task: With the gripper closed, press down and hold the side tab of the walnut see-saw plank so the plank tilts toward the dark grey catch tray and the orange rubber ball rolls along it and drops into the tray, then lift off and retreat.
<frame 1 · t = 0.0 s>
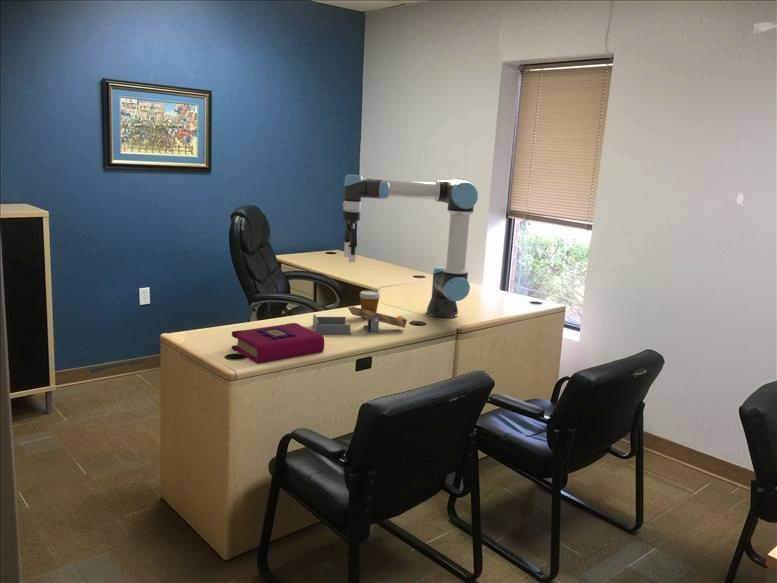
hand: (349, 259, 285), 28 cm above the table, tool pointing down, fingers open, 13 cm apart
lever: (377, 314, 281), point 6 cm above the table, hinge at -14.1°, touching ball
book: (277, 352, 242), on the table
disposable coffee cup: (368, 318, 298), on the table
fulcrum: (372, 329, 278), on the table
catch tray: (331, 329, 274), on the table
ball: (399, 319, 280), point 5 cm above the table, tilted 10°, touching lever
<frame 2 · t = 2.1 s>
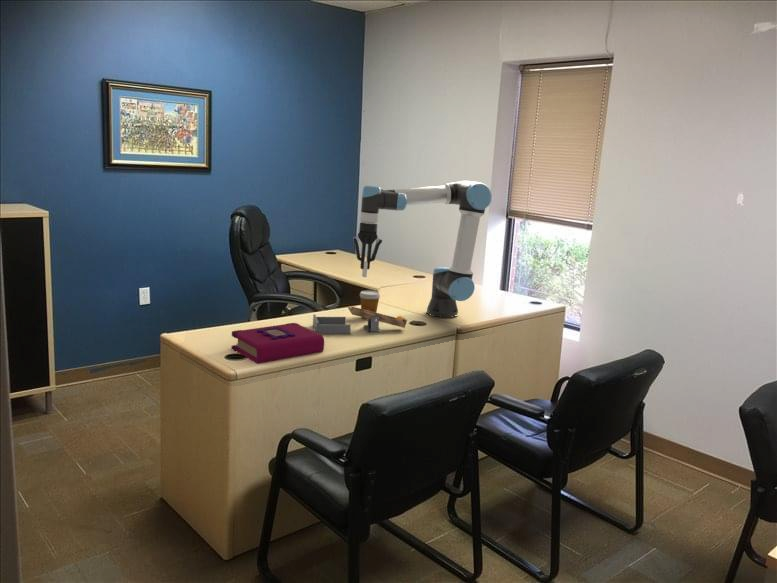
hand: (364, 276, 282), 22 cm above the table, tool pointing down, fingers closed
nothing on the table moved.
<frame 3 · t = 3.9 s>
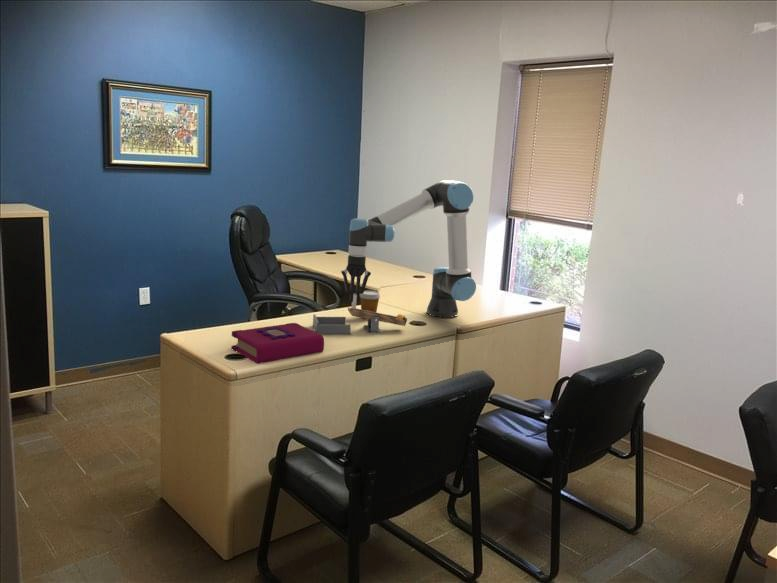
hand: (353, 308, 280), 8 cm above the table, tool pointing down, fingers closed
lever: (377, 314, 281), point 6 cm above the table, hinge at -10.7°, touching ball, gripper
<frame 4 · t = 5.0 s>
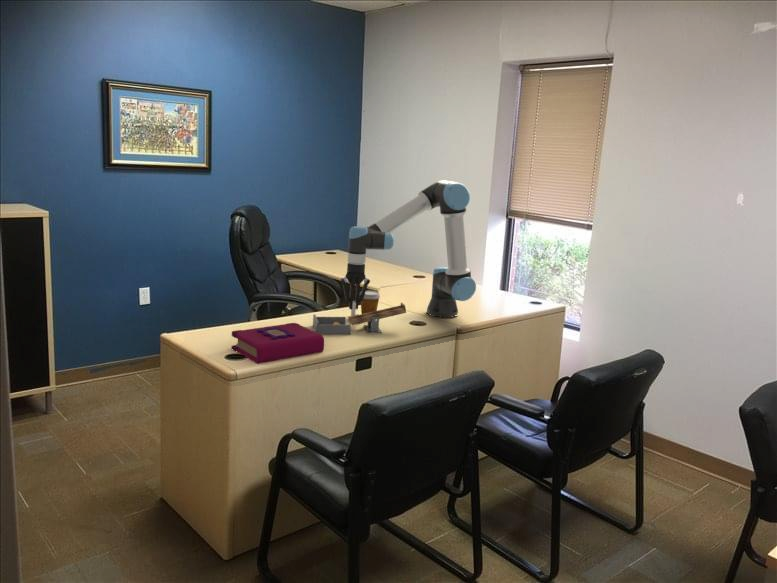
hand: (353, 316, 281), 5 cm above the table, tool pointing down, fingers closed
lever: (376, 312, 280), point 7 cm above the table, hinge at 13.6°, touching gripper
ball: (336, 325, 274), point 2 cm above the table, tilted 78°, touching catch tray
everything else where it was.
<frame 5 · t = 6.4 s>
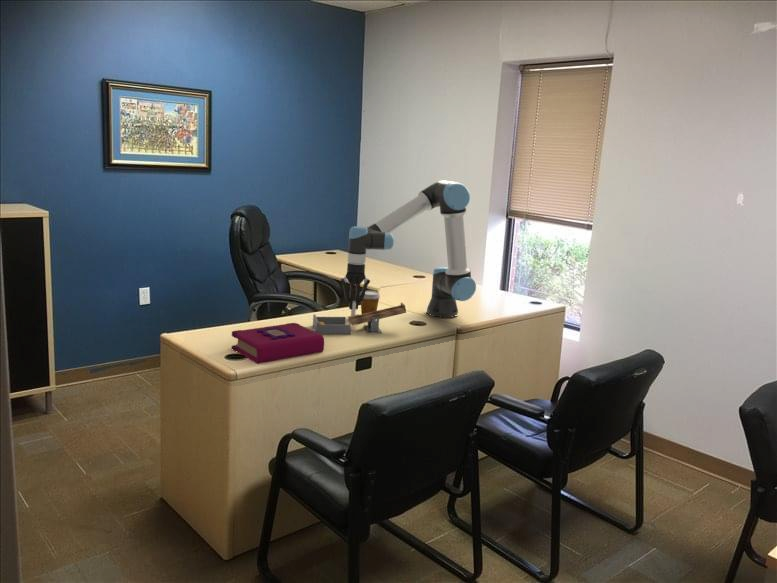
hand: (353, 316, 281), 4 cm above the table, tool pointing down, fingers closed
ball: (320, 325, 273), point 2 cm above the table, tilted 128°, touching catch tray
everything else where it was.
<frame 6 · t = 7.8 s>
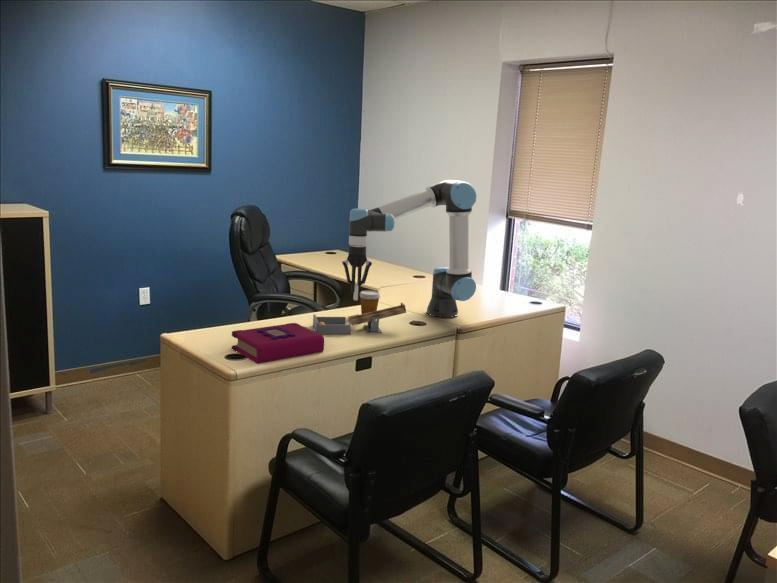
hand: (355, 299, 280), 12 cm above the table, tool pointing down, fingers closed
lever: (376, 312, 280), point 7 cm above the table, hinge at 13.8°
ball: (321, 325, 273), point 2 cm above the table, tilted 136°, touching catch tray
everything else where it was.
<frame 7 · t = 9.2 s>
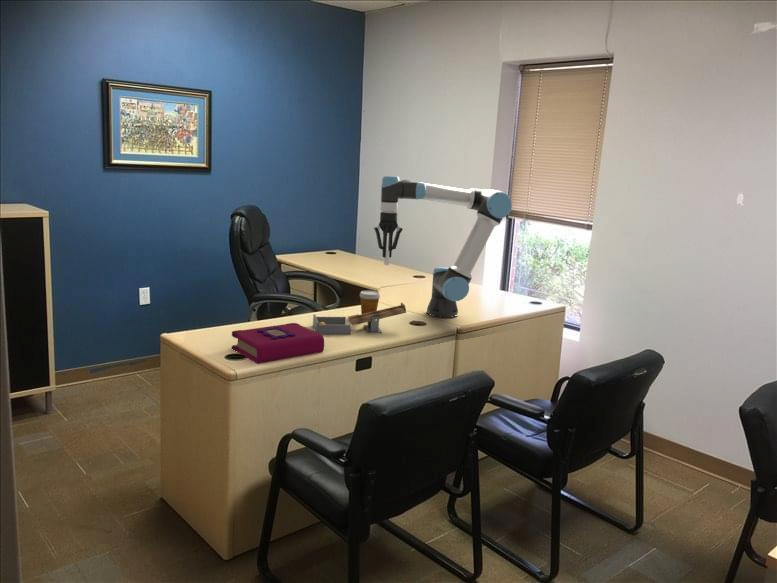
hand: (386, 264, 290), 26 cm above the table, tool pointing down, fingers closed
ball: (321, 325, 273), point 2 cm above the table, tilted 144°, touching catch tray
everything else where it was.
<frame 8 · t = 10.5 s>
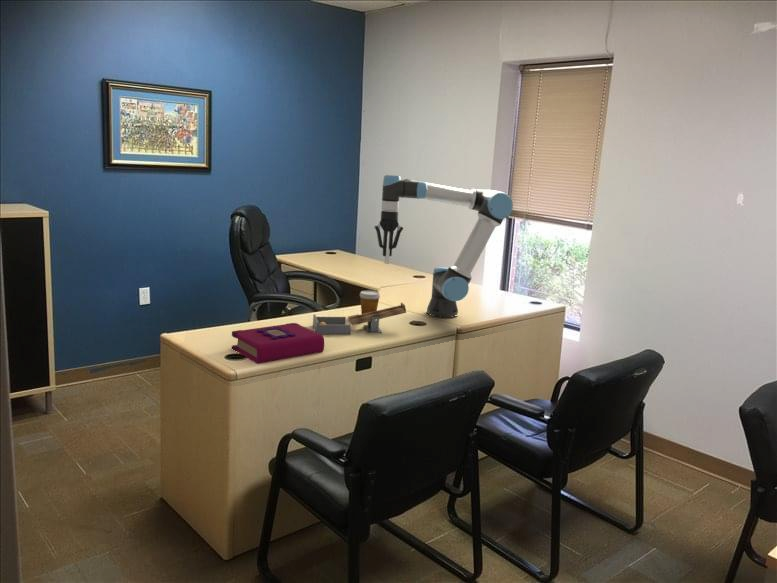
hand: (386, 263, 290), 26 cm above the table, tool pointing down, fingers closed
ball: (322, 325, 273), point 2 cm above the table, tilted 151°, touching catch tray
everything else where it was.
at the end: ball inside the target area on the catch tray (3.8 cm from its centre), point 1.9 cm above the catch tray's base; ball touching catch tray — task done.
